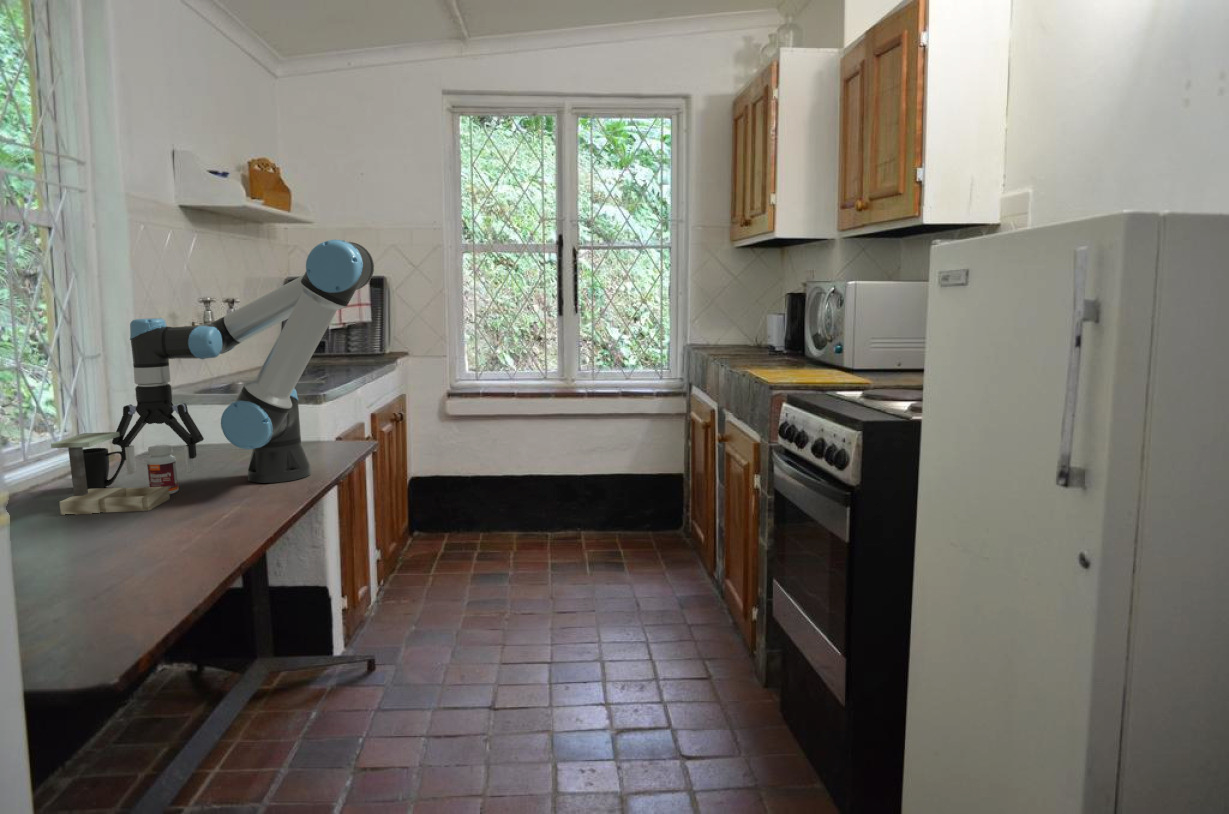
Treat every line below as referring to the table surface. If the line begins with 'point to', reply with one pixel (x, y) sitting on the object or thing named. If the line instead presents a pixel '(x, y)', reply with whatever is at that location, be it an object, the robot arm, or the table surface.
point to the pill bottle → (162, 468)
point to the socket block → (103, 497)
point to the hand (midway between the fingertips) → (161, 472)
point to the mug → (99, 467)
